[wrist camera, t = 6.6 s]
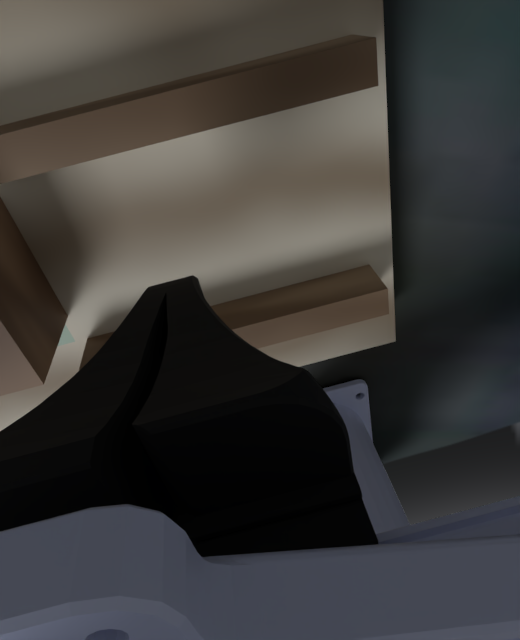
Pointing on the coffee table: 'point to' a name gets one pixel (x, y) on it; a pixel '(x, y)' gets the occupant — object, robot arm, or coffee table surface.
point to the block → (25, 313)
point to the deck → (201, 167)
